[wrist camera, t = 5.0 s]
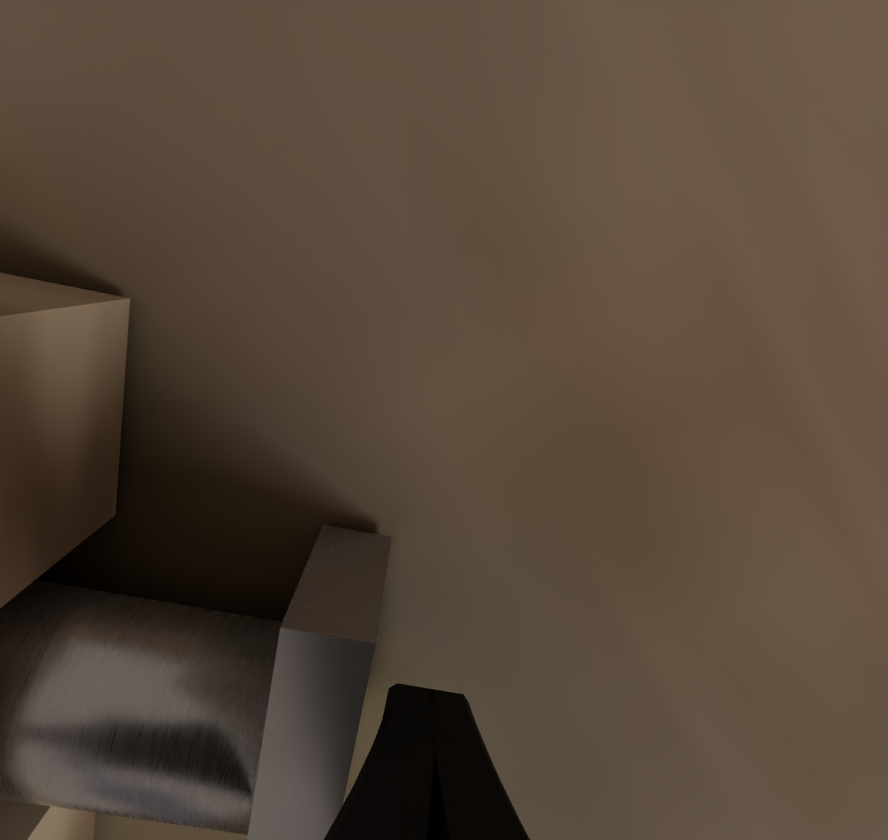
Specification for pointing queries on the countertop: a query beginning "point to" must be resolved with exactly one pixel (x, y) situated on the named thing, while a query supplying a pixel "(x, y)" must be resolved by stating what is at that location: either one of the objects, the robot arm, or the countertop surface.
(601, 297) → the countertop surface
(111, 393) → the block
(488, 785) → the robot arm
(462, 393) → the countertop surface
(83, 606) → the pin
